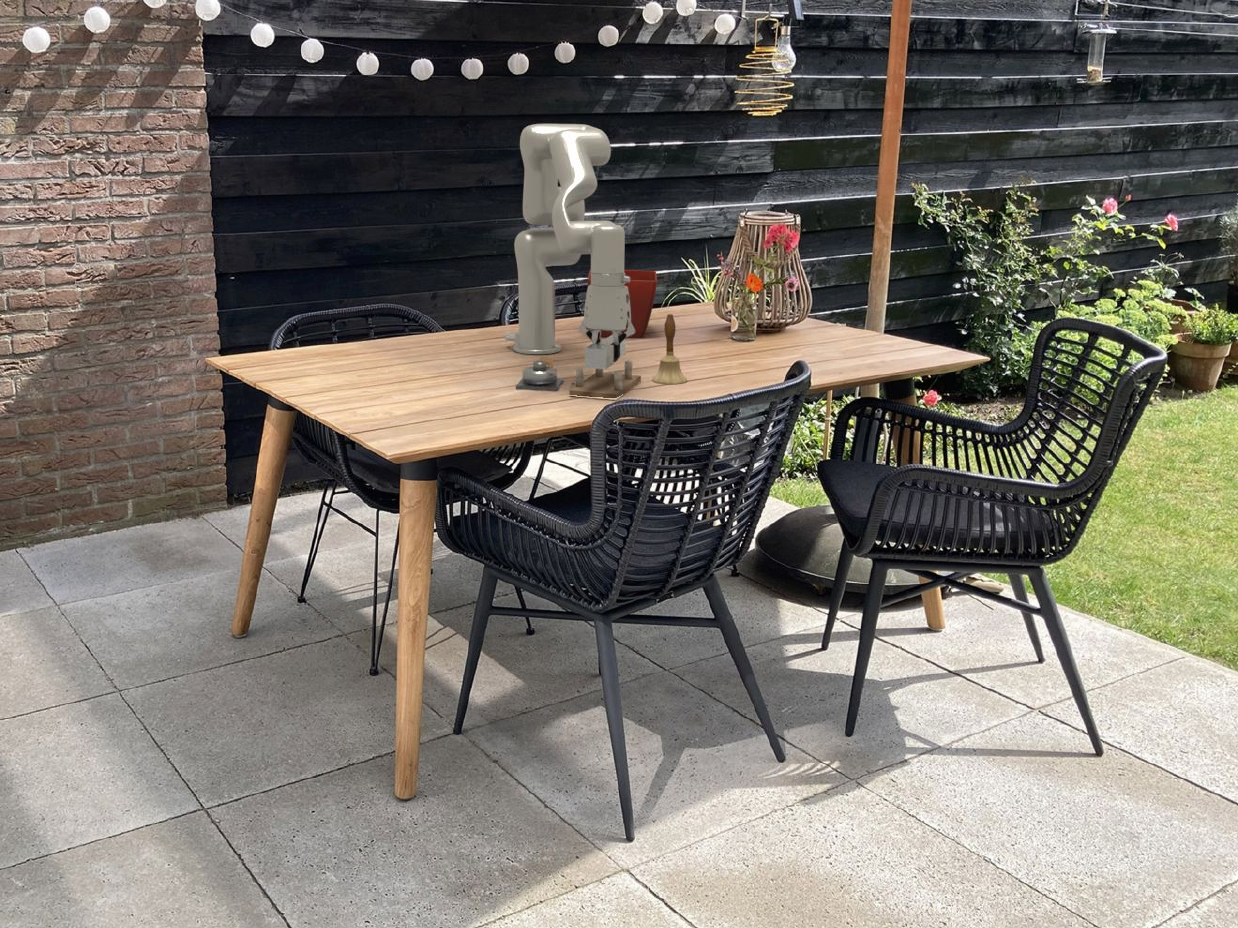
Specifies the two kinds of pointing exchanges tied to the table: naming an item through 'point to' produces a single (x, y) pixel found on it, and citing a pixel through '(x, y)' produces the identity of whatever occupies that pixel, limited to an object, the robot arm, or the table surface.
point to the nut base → (540, 385)
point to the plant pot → (638, 300)
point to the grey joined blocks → (602, 354)
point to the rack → (605, 383)
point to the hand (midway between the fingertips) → (606, 359)
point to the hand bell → (669, 359)
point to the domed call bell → (541, 372)
